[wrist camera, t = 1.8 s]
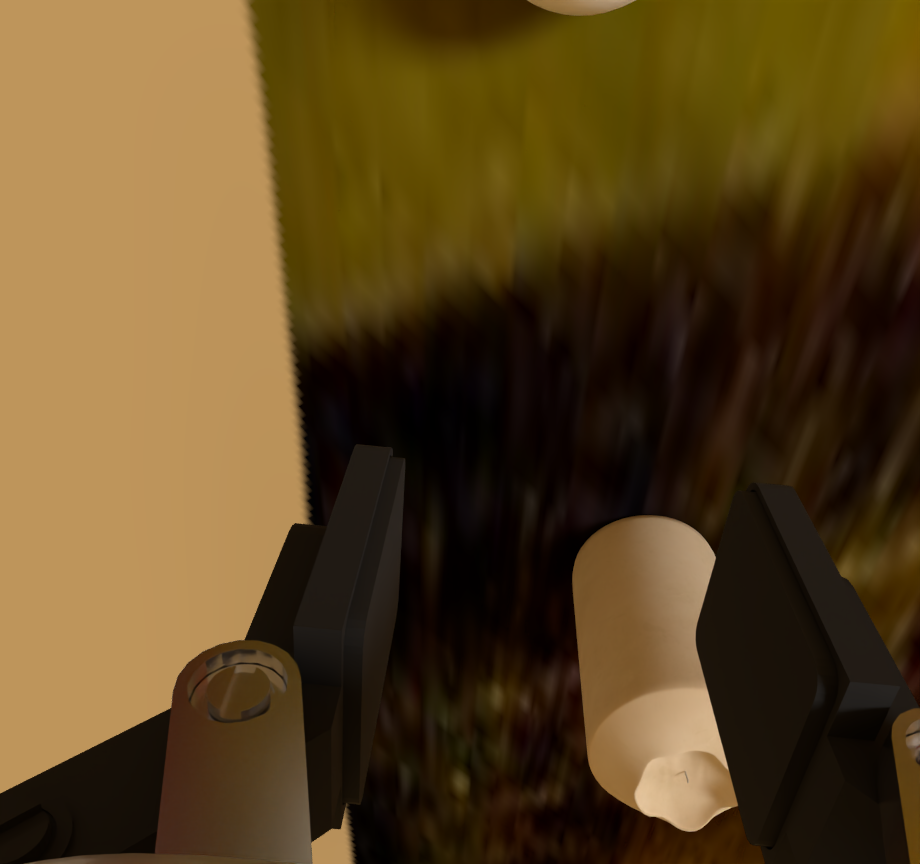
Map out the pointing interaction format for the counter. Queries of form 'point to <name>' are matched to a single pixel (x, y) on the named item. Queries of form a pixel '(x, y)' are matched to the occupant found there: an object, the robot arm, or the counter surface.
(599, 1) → the cue ball
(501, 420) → the counter surface
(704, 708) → the candle
